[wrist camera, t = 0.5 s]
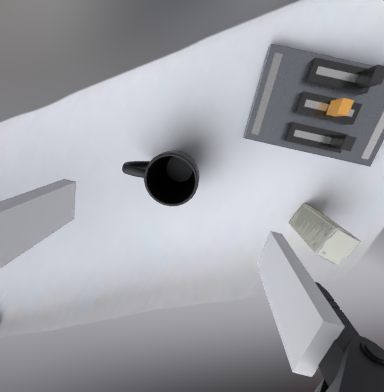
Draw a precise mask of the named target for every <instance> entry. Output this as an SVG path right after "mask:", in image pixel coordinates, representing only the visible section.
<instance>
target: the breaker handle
mask: <svg viewBox="0 0 384 392" xmlns="http://www.w3.org/2000/svg"><path fill="white" fill-rule="evenodd" d="M353 102H354V100H351V99H346V98H341V99H336V100H332V101H331V103H330V105H329V108H328V110H327V113H326V115H330V116H335V117H337V116H348V114H349V111H350V109H351V107H352V104H353Z"/></svg>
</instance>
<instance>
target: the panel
mask: <svg viewBox="0 0 384 392" xmlns="http://www.w3.org/2000/svg"><path fill="white" fill-rule="evenodd" d="M341 98H346V99H351V100H354V102H353V104H352V107H351V109H350V111H349V114H348V116H337V117H335V116H330V115H326V113H327V110H328V108H329V105H330V103H331V101H332V100H336V99H341ZM243 138H246V139H250V140H255V141H259V142H264V143H268V144H272V145H277V146H281V147H286V148H290V149H295V150H299V151H304V152H308V153H313V154H317V155H321V156H326V157H330V158H335V159H339V160H344V161H348V162H353V163H357V164H362V165H366V166H371V164H372V162H373V160H374V158H375V156H376V154H377V152H378V150H379V148H380V146H381V144H382V142H383V140H384V66H381V65H376V66H371V65H366V64H362V63H357V62H353V61H348V60H344V59H339V58H334V57H330V56H325V55H321V54H316V53H312V52H307V51H302V50H298V49H293V48H289V47H284V46H280V45H275V44H271V45H270V46H269V48H268V51H267V55H266V58H265V62H264V65H263V69H262V73H261V76H260V80H259V83H258V87H257V90H256V94H255V97H254V101H253V104H252V108H251V111H250V115H249V118H248V122H247V126H246V129H245V133H244V136H243Z"/></svg>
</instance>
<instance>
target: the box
mask: <svg viewBox="0 0 384 392" xmlns="http://www.w3.org/2000/svg"><path fill="white" fill-rule="evenodd" d="M289 224H290V225H291V226H292V228H293V229H294V230H295V231H296V232H297V233H298V234H299V235H300V236H301V238H302V239H303V240H304V241H305V242H306V243H307V244H308V245H309V247H310V248H311V249H312V250H313V251H314V252H315V253H316V254H317V255H319V256H321V257H323V258H325V259H326V260H328V261H330V262H332V263H334V264H336V265H339V264H340V263H341V262H342V261H343V260H344V259H345V258H346V257H347V256H348V255H349V254H350V253H351V252H352V251H353V250H354V248H355V247H356V246H357V245H358V244H359V243H360V242H361V241H360V240H359V239H357V238H356V237H355V236H353V235H352V234H350V233H349V232H347V231H346V230H345V229H343V228H342V227H340V226H339V225H338V224H336V223H335V222H333V221H332V220H331V219H329V218H328V217H326V216H325V215H324V214H322V213H321V212H319V211H317V210H316V209H314V208H312V207H311V206H309V205H307V204H305V203H304V204H303V205H302V206H301V207H300V208H299V210H298V211H297V212H296V214H295V215H294V216H293V217H292V219H291V220H290V222H289Z"/></svg>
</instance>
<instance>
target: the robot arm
mask: <svg viewBox="0 0 384 392" xmlns="http://www.w3.org/2000/svg"><path fill="white" fill-rule="evenodd" d="M75 191H76V182H75V181H71V180H67V179H63V180H60V181H57V182H55V183H52V184H49V185H46V186H43V187H40V188H37V189H35V190H32V191H29V192H26V193H23V194H20V195H18V196H15V197H12V198H9V199H6V200H3V201H1V202H0V268H2V267H3V266H5V265H6V264H8V263H9V262H11V261H12V260H14V259H15V258H16V257H18V256H19V255H21V254H22V253H24V252H25V251H27V250H28V249H30V248H31V247H33V246H34V245H36V244H37V243H39V242H40V241H42V240H43V239H45V238H46V237H48V236H49V235H51V234H52V233H54V232H55V231H57V230H58V229H60V228H61V227H63V226H64V225H66V224H67V223H69V222H70V221H72V220H73V219H74V209H75ZM257 268H258V271H259V274H260V277H261V280H262V283H263V286H264V289H265V292H266V295H267V298H268V301H269V304H270V307H271V309H272V312H273V315H274V318H275V321H276V324H277V327H278V330H279V333H280V336H281V339H282V342H283V345H284V348H285V351H286V354H287V357H288V359H289V363H290V365H291V368H292V371H293V372H294V373H298V374H302V375H306V376H310V377H312V376H313V374H314V373H315V371H316V370H317V368H318V367H319V368H320V370H321V373H322V375H323V377H324V379H323V380H322V382H321V383H320V384H319V386H318V387H317V389H316V390H315V391H314V392H384V350H383V349H382V348H380V347H379V346H378V345H377V344H375V343H374V342H372V341H370V340H368V339H367V338H364V337H361V336H359V334H358V333H357V331H356V330H355V328H354V327H353V326H352V324H351V323H350V321H349V320H348V319H347V317H346V316H345V315H344V313H343V312H342V310H340V308H339V306H338V305H337V303H336V302H334V299H333V298H332V297H331V295H330V294H329V292H328V291H327V290H326V289H324V288H323V287H322V286H321V285H320V284H319V283H317V282H314V281H313V279H312V278H311V276H310V275H309V273H308V272H307V270H306V269H305V267H304V266H303V264H302V263H301V261H300V260H299V258H298V257H297V256H296V254H295V253H294V251H293V250H292V248H291V247H290V245H289V244H288V242H287V241H286V239H285V238H284V236H283V235H282V234H280V233H276V232H272V231H270V234H269V236H268V238H267V241H266V243H265V246H264V248H263V251H262V253H261V255H260V258H259V260H258V263H257Z"/></svg>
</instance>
